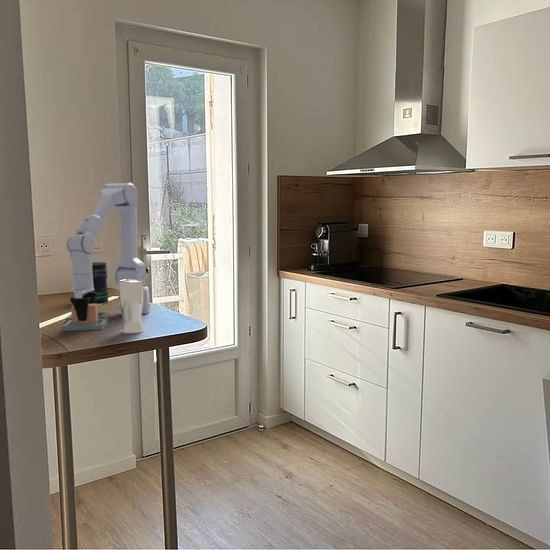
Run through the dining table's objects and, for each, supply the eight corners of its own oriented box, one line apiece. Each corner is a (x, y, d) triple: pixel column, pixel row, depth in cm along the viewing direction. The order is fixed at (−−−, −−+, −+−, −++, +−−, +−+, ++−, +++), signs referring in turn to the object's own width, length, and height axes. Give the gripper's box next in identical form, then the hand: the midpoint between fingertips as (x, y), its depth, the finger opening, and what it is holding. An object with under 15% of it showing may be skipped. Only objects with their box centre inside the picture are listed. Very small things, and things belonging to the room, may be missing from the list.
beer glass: (135, 327, 167) (132, 278, 165) (149, 330, 163) (147, 280, 161) (115, 332, 162) (112, 281, 160) (129, 335, 158) (127, 282, 156)
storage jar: (101, 304, 208) (99, 265, 206) (76, 304, 210) (74, 265, 208) (113, 300, 218) (111, 262, 216) (89, 300, 219) (87, 262, 218)
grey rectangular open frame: (108, 316, 186) (108, 311, 186) (103, 321, 178) (103, 316, 178) (72, 317, 184) (72, 313, 184) (66, 322, 177) (66, 317, 176)
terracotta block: (98, 325, 171) (97, 303, 170) (96, 328, 168) (95, 305, 167) (75, 326, 170) (73, 304, 170) (72, 329, 167) (71, 306, 166)
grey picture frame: (107, 323, 174) (107, 319, 173) (102, 329, 166) (102, 324, 166) (69, 325, 172) (69, 320, 172) (62, 331, 164) (62, 326, 164)
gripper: (74, 271, 174) (77, 314, 175) (62, 277, 159) (65, 323, 161) (97, 270, 175) (100, 313, 176) (88, 276, 160) (90, 322, 162)
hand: (85, 318), depth 169 cm, fingers open, 7 cm apart
